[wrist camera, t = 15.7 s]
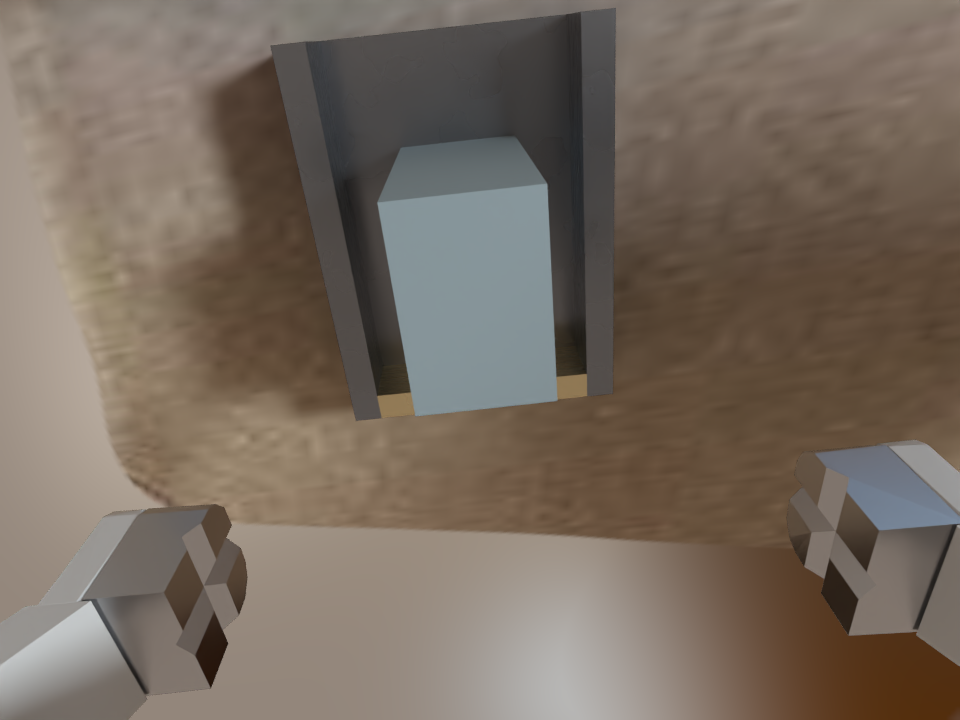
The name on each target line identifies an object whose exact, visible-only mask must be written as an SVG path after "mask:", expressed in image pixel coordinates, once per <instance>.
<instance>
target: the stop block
mask: <svg viewBox="0 0 960 720" xmlns="http://www.w3.org/2000/svg"><path fill="white" fill-rule="evenodd" d="M377 204H378V209H379V215H380V220H381V226H382V232H383V237H384V243H385V248H386V254H387V260H388V265H389V271H390V277H391V282H392V288H393V293H394V299H395V305H396V310H397V316H398V321H399V327H400V333H401V338H402V344H403V350H404V355H405V361H406V366H407V372H408V378H409V383H410V389H411V394H412V400H413V406H414V411H415V416H424V415H433V414H442V413H451V412H461V411H470V410H479V409H488V408H497V407H506V406H516V405H525V404H534V403H543V402H552V401H557V379H556V358H555V337H554V316H553V295H552V274H551V252H550V231H549V210H548V189H547V183H546V181H545V180H544V178H543V177H542V175H541V174H540V172H539V171H538V169H537V168H536V166H535V165H534V163H533V162H532V160H531V159H530V157H529V156H528V154H527V153H526V151H525V150H524V148H523V147H522V145H521V144H520V142H519V141H518V139H517V138H516V136H515V135H510V136H501V137H492V138H483V139H474V140H465V141H456V142H447V143H438V144H429V145H421V146H412V147H403V148H401V149H400V151H399V153H398V156H397V158H396V160H395V163H394V165H393V167H392V170H391V172H390V174H389V177H388V179H387V181H386V183H385V186H384V188H383V190H382V193H381V195H380V197H379V200H378V202H377Z"/></svg>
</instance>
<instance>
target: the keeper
mask: <svg viewBox="0 0 960 720" xmlns="http://www.w3.org/2000/svg"><path fill="white" fill-rule="evenodd" d="M615 34H616V8H612V9H603V10H593V11H584V12H578V13H572V14H567V15H557V16H548V17H539V18H530V19H521V20H511V21H502V22H493V23H484V24H475V25H465V26H456V27H447V28H438V29H428V30H419V31H410V32H401V33H392V34H382V35H373V36H364V37H355V38H346V39H336V40H327V41H314V42H299V43H290V44H280V45H271V51H272V55H273V60H274V64H275V68H276V73H277V77H278V81H279V86H280V90H281V95H282V99H283V103H284V108H285V112H286V116H287V121H288V125H289V130H290V134H291V138H292V143H293V147H294V151H295V156H296V160H297V165H298V169H299V173H300V178H301V182H302V186H303V191H304V195H305V200H306V204H307V208H308V213H309V217H310V221H311V226H312V230H313V235H314V239H315V243H316V248H317V252H318V256H319V261H320V265H321V270H322V274H323V278H324V283H325V287H326V291H327V296H328V300H329V305H330V309H331V313H332V318H333V322H334V326H335V331H336V335H337V340H338V344H339V348H340V353H341V357H342V361H343V366H344V370H345V375H346V379H347V383H348V388H349V392H350V396H351V401H352V405H353V410H354V414H355V418H356V421H358V420H368V419H377V418H387V417H396V416H406V415H415V411H414V406H413V400H412V394H411V389H410V383H409V378H408V372H407V366H406V361H405V355H404V350H403V344H402V338H401V333H400V327H399V321H398V316H397V310H396V305H395V299H394V293H393V288H392V282H391V277H390V271H389V265H388V260H387V254H386V248H385V243H384V237H383V232H382V226H381V220H380V215H379V209H378V204H377V202H378V200H379V197H380V195H381V193H382V190H383V188H384V186H385V183H386V181H387V179H388V177H389V174H390V172H391V170H392V167H393V165H394V163H395V160H396V158H397V156H398V153H399V151H400V149H401V148H403V147H412V146H421V145H429V144H438V143H447V142H456V141H465V140H474V139H483V138H492V137H501V136H510V135H515V136H516V138H517V139H518V141H519V142H520V144H521V145H522V147H523V148H524V150H525V151H526V153H527V154H528V156H529V157H530V159H531V160H532V162H533V163H534V165H535V166H536V168H537V169H538V171H539V172H540V174H541V175H542V177H543V178H544V180H545V181H546V183H547V189H548V210H549V231H550V252H551V274H552V295H553V316H554V337H555V358H556V379H557V399H567V398H576V397H586V396H595V395H605V394H613V306H614V170H615Z"/></svg>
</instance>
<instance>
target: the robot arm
mask: <svg viewBox="0 0 960 720" xmlns="http://www.w3.org/2000/svg"><path fill="white" fill-rule="evenodd" d="M794 475H795V477H796V478H797V480H798V481H799V482H800V484H801V485H802V486H803V487H802V488H801V489H800V490H799V491H798V492H797V493H796V494H795V495H794V496H793V497H792V498H791V499H790V500H789V506H788V513H787V524H788V530H789V537H790V540H791V542H792V545H793V547H794V550H795V552H796V554H797V556H798V557H799V559H800V561H801V562H802V564H803V565H804V567H805V568H807V569H809V570H810V571H812V572H814V573H816V574H817V575H819V576H820V577H822V578H824V582H823V587H822V592H821V594H822V595H823V597H824V598H825V600H826V601H827V603H828V604H829V606H830V608H831V609H832V611H833V612H834V614H835V615H836V617H837V619H838V620H839V622H840V623H841V625H842V626H843V628H844V629H845V631H846V632H847V634H848V635H865V634H866V635H867V634H885V633H903V632H917V634H916V635H917V636H918V637H920V638H921V639H923V640H924V641H925V642H927V643H928V644H929V645H931V646H932V647H933V648H935V649H936V650H938V651H939V652H940V653H942V654H943V655H944V656H946V657H947V658H949V659H950V660H952V661H953V662H954V663H956V664H957V665H958V666H960V473H959V472H958V471H957V470H956V469H955V468H954V467H952V466H951V465H950V464H949V463H948V462H947V461H946V460H945V459H943V458H942V457H941V456H940V455H939V454H938V453H937V452H936V451H934V450H933V449H932V448H931V447H930V446H929V445H928V444H925V443H923V442H920V441H918V440H907V441H898V442H889V443H880V444H877V445H869V446H858V447H848V448H837V449H827V450H816V451H806V452H803V453H802V454H801V456H800V457H799V459H798V460H797V464H796V469H795V474H794ZM231 526H232V524H231V522H230V520H229V517H228V515H227V513H226V510H225V508H224V507H222V506H219V505H217V504H211V505H196V506H181V507H166V508H152V509H147V510H132V511H116V512H112V513H110V514H108V515H106V516H104V517H103V518H102V519H101V521H100V522H99V523H98V525H97V526H96V527H95V529H94V530H93V531H92V533H91V534H90V535H89V537H88V538H87V540H86V541H85V542H84V544H83V545H82V546H81V548H80V549H79V551H78V552H77V553H76V554H75V556H74V557H73V558H72V560H71V561H70V563H69V564H68V565H67V566H66V568H65V569H64V571H63V572H62V573H61V575H60V576H59V577H58V579H57V580H56V581H55V583H54V584H53V585H52V587H51V588H50V589H49V591H48V592H47V594H46V595H45V596H44V597H43V599H42V600H41V601H40V603H39V604H38V605H36V606H26V607H24V608H23V609H21V610H20V611H18V612H17V613H15V614H14V615H12V616H11V617H9V618H8V619H6V620H5V621H3V622H2V623H0V720H128V719H129V718H130V717H131V716H132V715H133V714H134V713H135V712H136V711H137V710H138V709H139V707H140V706H141V705H142V704H143V703H144V702H145V701H146V700H147V698H146V696H149V695H158V694H167V693H176V692H185V691H193V690H202V689H211V687H212V684H213V682H214V679H215V676H216V674H217V671H218V668H219V666H220V663H221V661H222V658H223V655H224V653H225V650H226V648H227V645H228V642H227V639H226V637H225V635H224V632H223V629H224V628H225V627H226V626H228V625H229V624H230V623H231V622H232V621H233V620H234V619H235V618H236V617H237V616H238V615H239V614H240V611H241V608H242V605H243V602H244V600H245V594H246V586H247V570H246V562H245V559H244V556H243V554H242V550H241V548H240V547H238V546H237V545H236V544H234V543H233V542H231V541H230V540H229V539H227V538H226V537H227V535H228V533H229V530H230V528H231Z"/></svg>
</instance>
